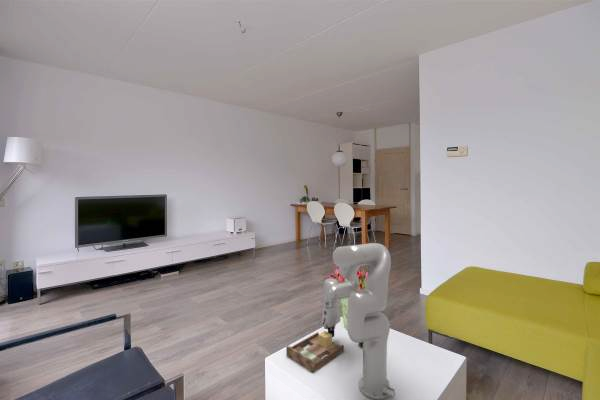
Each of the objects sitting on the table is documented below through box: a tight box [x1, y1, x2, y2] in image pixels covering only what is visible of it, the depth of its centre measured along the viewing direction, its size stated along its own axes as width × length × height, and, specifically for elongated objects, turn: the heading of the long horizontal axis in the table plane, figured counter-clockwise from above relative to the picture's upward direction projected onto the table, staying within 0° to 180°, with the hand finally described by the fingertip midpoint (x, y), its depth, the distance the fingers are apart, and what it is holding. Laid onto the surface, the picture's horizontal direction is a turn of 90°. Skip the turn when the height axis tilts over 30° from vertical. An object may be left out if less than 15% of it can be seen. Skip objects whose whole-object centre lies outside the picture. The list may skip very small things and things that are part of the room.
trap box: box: [285, 331, 345, 374], centre depth 140 cm, size 18×23×5 cm
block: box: [318, 330, 333, 348], centre depth 145 cm, size 5×5×5 cm
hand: (331, 336), depth 149 cm, fingers closed
